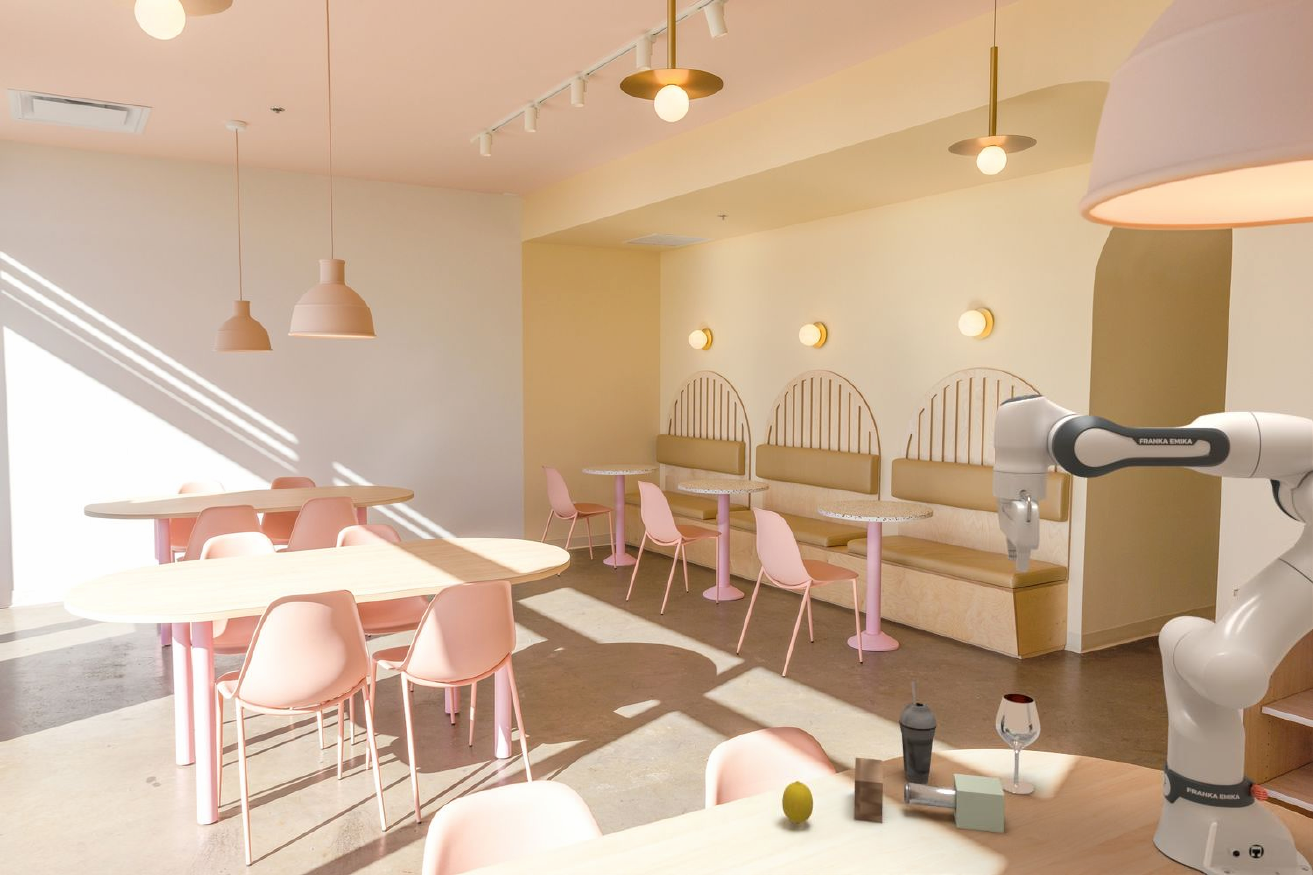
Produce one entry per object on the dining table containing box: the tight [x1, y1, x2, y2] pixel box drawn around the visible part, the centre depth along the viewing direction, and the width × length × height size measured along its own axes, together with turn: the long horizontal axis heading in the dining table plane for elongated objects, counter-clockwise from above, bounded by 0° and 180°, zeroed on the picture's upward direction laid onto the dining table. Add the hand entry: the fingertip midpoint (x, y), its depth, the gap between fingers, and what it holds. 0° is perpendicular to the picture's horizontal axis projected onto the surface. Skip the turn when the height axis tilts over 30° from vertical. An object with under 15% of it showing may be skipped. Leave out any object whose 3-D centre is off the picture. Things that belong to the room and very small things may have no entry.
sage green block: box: [952, 773, 1006, 834], centre depth 161 cm, size 8×7×7 cm
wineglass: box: [995, 692, 1041, 795], centre depth 174 cm, size 8×8×18 cm
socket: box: [853, 757, 884, 824], centre depth 165 cm, size 5×10×8 cm, turn 166°
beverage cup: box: [898, 681, 937, 785], centre depth 177 cm, size 7×7×20 cm
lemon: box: [781, 780, 814, 825], centre depth 160 cm, size 6×6×8 cm
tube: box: [903, 782, 957, 810], centre depth 162 cm, size 16×4×4 cm, turn 76°
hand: (1017, 565), depth 155 cm, fingers open, 8 cm apart
